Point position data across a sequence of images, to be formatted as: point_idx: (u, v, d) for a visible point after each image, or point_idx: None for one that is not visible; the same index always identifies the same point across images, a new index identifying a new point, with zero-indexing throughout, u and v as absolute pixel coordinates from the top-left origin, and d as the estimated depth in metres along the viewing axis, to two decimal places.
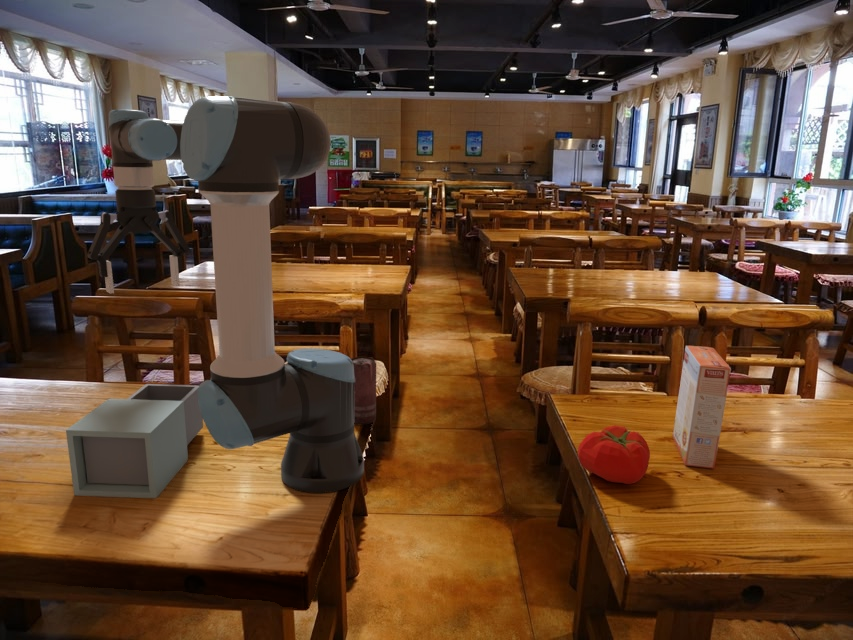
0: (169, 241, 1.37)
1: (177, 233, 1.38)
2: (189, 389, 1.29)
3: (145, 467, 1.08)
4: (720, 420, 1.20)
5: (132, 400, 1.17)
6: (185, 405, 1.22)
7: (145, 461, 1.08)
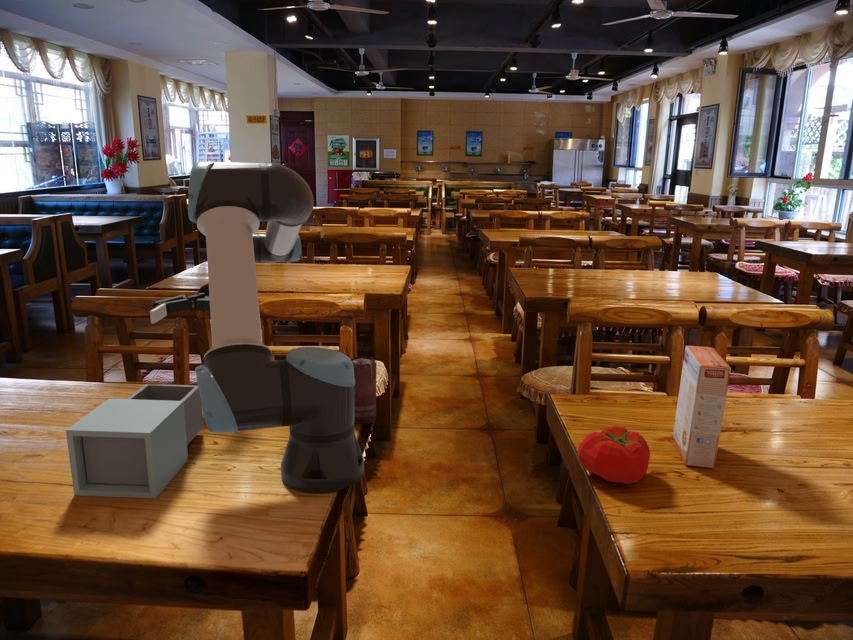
0: None
1: None
2: (189, 389, 1.29)
3: (145, 467, 1.08)
4: (720, 420, 1.20)
5: (132, 400, 1.17)
6: (185, 405, 1.22)
7: (145, 461, 1.08)
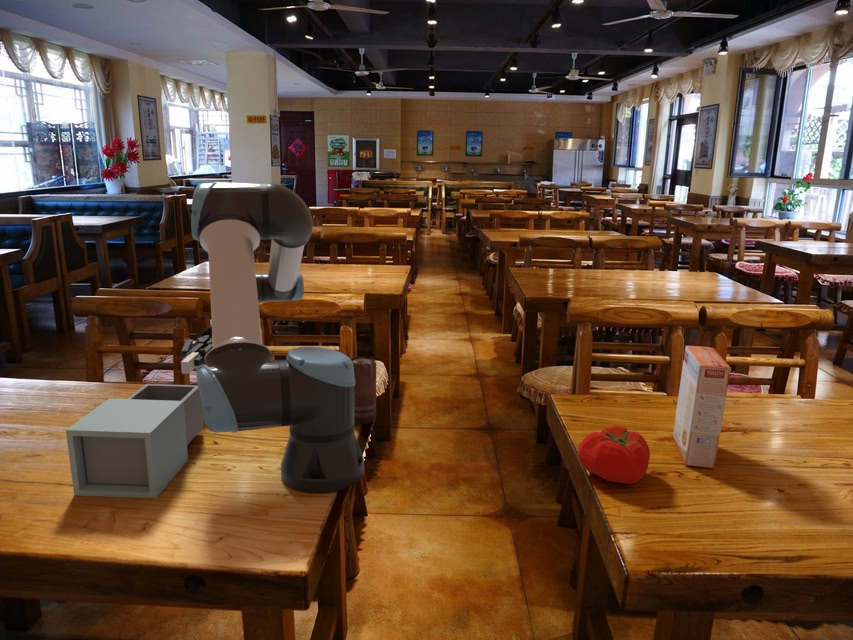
0: (209, 347, 1.46)
1: None
2: (189, 389, 1.29)
3: (145, 467, 1.08)
4: (720, 420, 1.20)
5: (132, 400, 1.17)
6: (185, 405, 1.22)
7: (145, 461, 1.08)
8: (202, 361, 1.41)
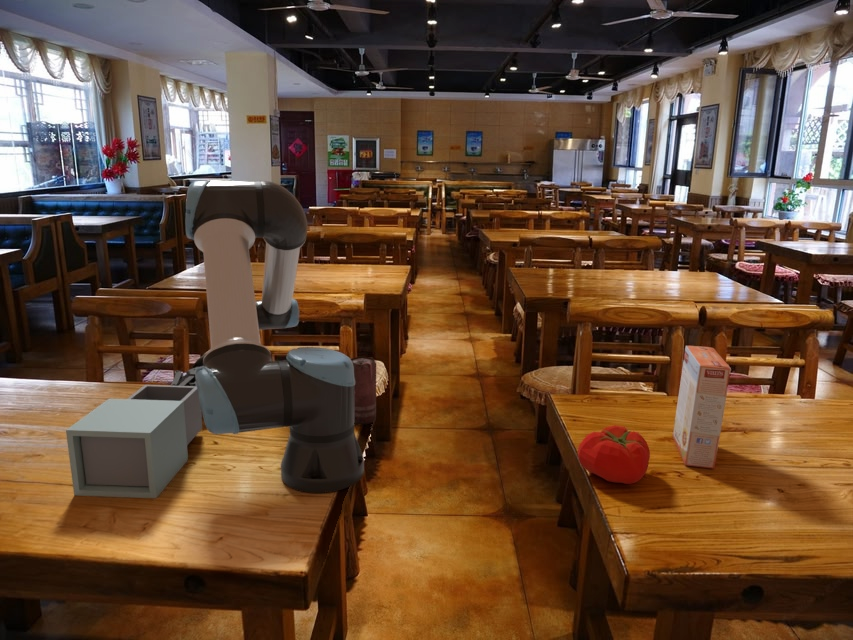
0: None
1: None
2: (188, 390, 1.29)
3: (144, 468, 1.08)
4: (720, 420, 1.20)
5: (132, 400, 1.17)
6: (184, 406, 1.22)
7: (144, 462, 1.07)
8: None
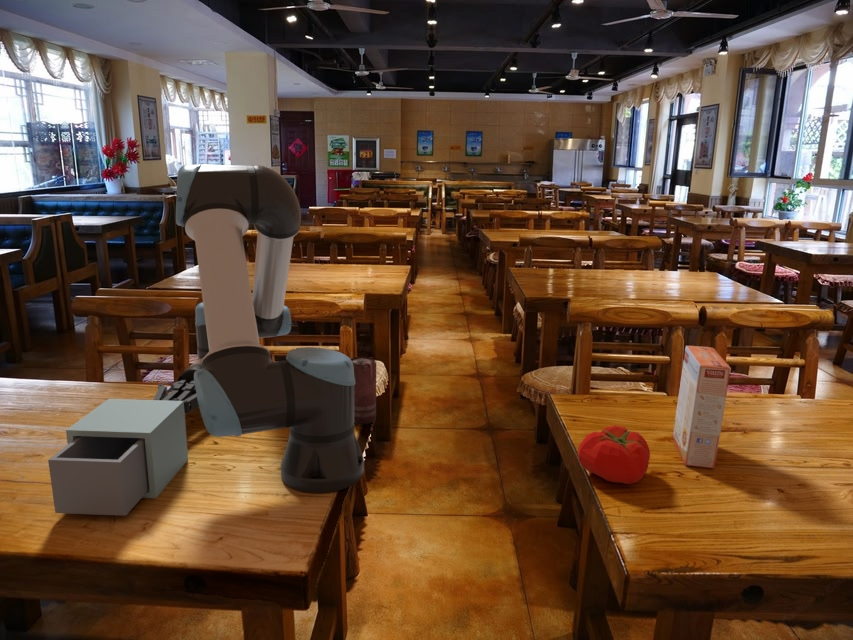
0: (183, 395, 1.32)
1: (197, 393, 1.33)
2: None
3: (117, 496, 0.99)
4: (720, 420, 1.20)
5: (132, 400, 1.17)
6: None
7: (117, 490, 0.99)
8: None
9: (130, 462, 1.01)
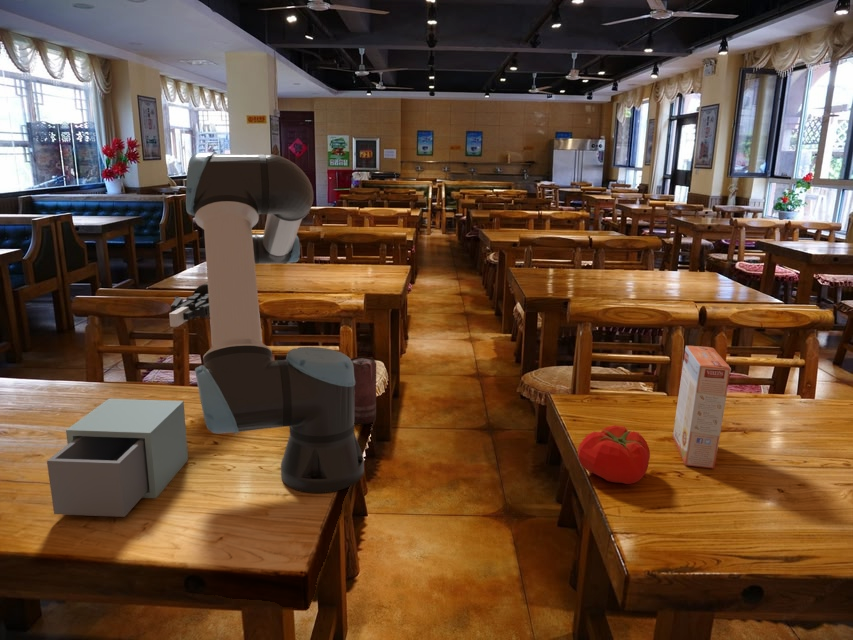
0: (199, 303, 1.39)
1: None
2: None
3: (116, 497, 0.99)
4: (720, 420, 1.20)
5: (132, 400, 1.17)
6: None
7: (116, 491, 0.98)
8: (192, 315, 1.34)
9: (129, 463, 1.01)
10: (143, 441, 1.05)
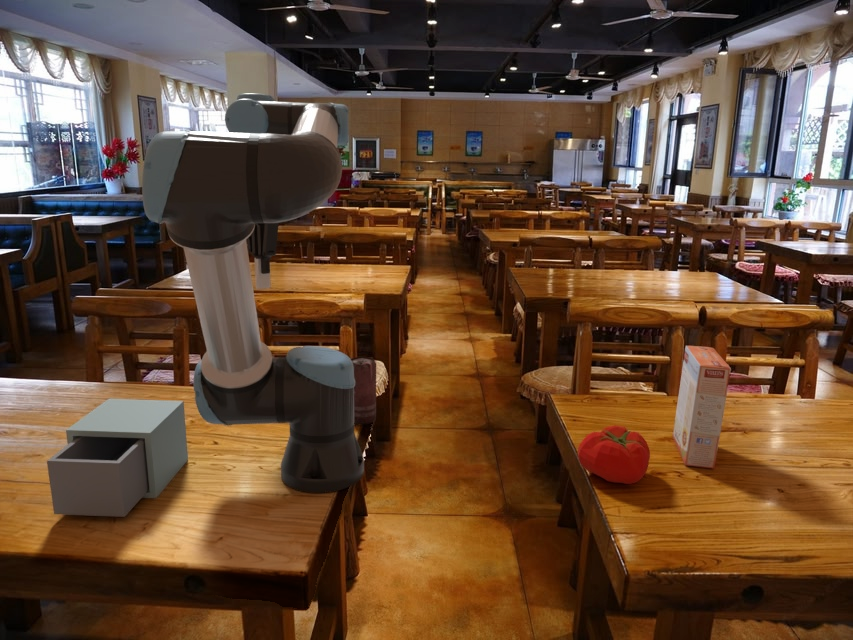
0: (259, 239, 1.30)
1: (265, 233, 1.28)
2: None
3: (116, 497, 0.99)
4: (720, 420, 1.20)
5: (132, 400, 1.17)
6: None
7: (116, 491, 0.98)
8: (267, 264, 1.32)
9: (129, 463, 1.01)
10: (143, 441, 1.05)
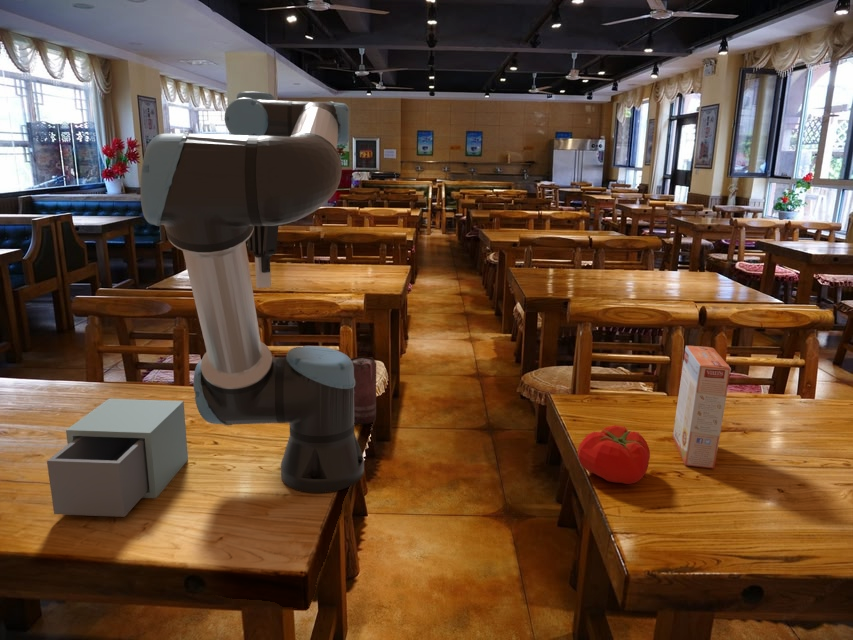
0: (260, 238, 1.30)
1: (265, 232, 1.28)
2: None
3: (116, 497, 0.99)
4: (720, 420, 1.20)
5: (132, 400, 1.17)
6: None
7: (116, 491, 0.98)
8: (268, 263, 1.32)
9: (129, 463, 1.01)
10: (143, 441, 1.05)
